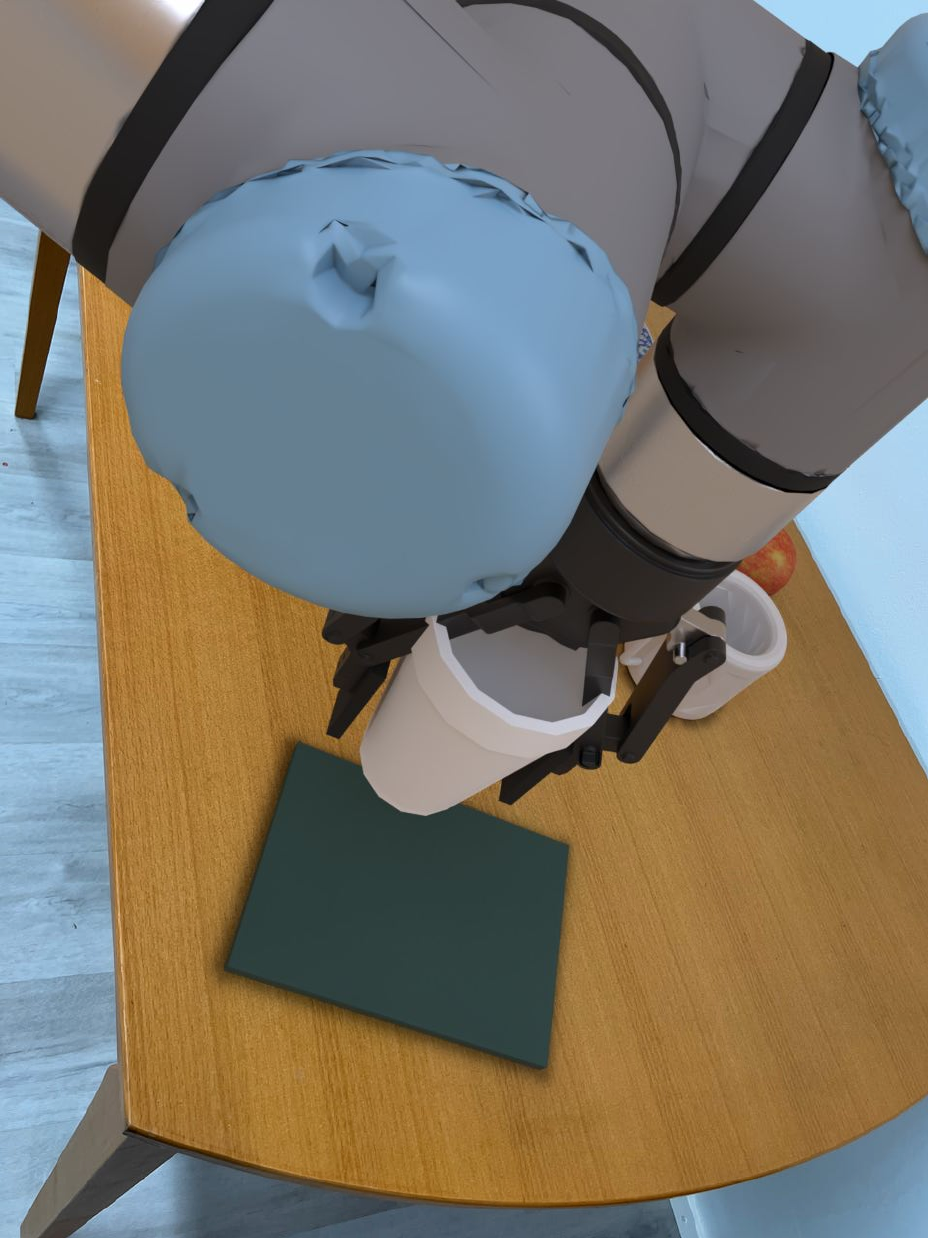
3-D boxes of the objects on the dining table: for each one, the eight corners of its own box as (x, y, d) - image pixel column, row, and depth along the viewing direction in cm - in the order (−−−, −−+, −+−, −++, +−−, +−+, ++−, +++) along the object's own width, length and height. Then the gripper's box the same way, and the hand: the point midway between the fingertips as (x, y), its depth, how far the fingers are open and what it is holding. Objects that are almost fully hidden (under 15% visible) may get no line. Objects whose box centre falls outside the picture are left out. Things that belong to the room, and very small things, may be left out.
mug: (690, 618, 95) (756, 560, 88) (736, 717, 91) (810, 664, 83) (580, 623, 88) (643, 560, 81) (624, 730, 84) (694, 674, 76)
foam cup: (508, 839, 53) (642, 734, 43) (348, 850, 48) (459, 736, 39) (469, 684, 57) (584, 559, 48) (320, 682, 53) (414, 543, 43)
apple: (714, 534, 105) (763, 487, 99) (771, 589, 104) (824, 545, 98) (683, 566, 99) (733, 519, 93) (743, 624, 98) (797, 581, 92)
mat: (223, 970, 59) (227, 966, 58) (294, 747, 69) (298, 741, 68) (540, 1070, 64) (547, 1068, 63) (562, 849, 74) (569, 845, 73)
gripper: (897, 535, 40) (606, 761, 57) (418, 286, 35) (251, 616, 51) (922, 680, 36) (597, 880, 52) (373, 418, 30) (205, 734, 47)
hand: (425, 749), depth 52 cm, fingers closed on foam cup, 9 cm apart
